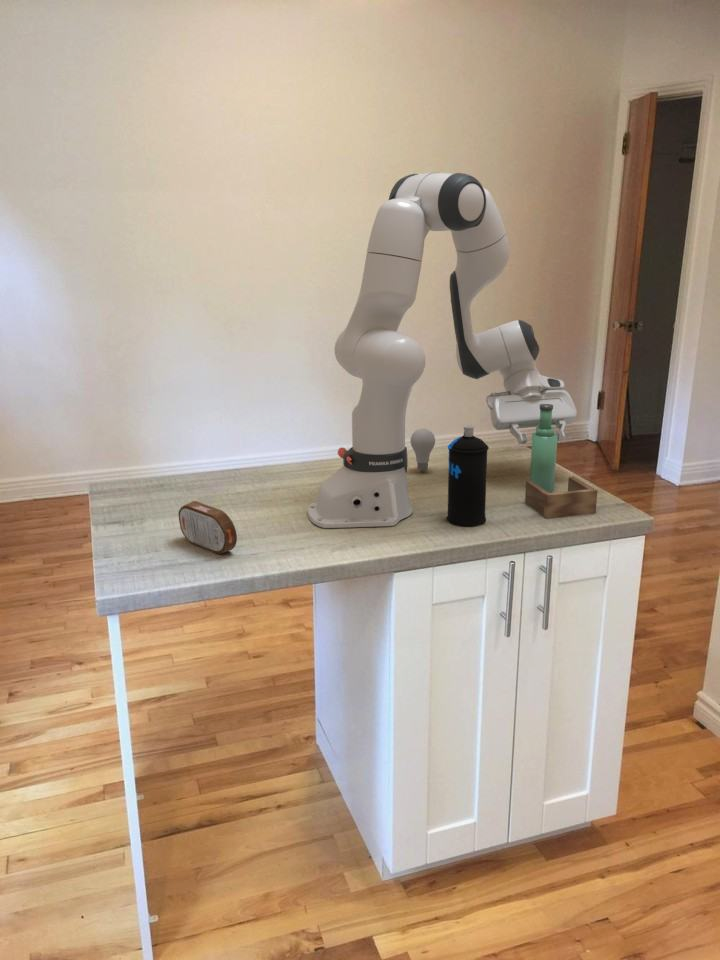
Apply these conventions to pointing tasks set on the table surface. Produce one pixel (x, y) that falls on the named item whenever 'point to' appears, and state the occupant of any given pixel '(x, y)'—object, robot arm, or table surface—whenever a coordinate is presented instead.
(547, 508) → the u rest
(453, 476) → the aerosol can
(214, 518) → the tin
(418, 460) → the lightbulb
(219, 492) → the table surface
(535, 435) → the bottle
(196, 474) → the table surface
